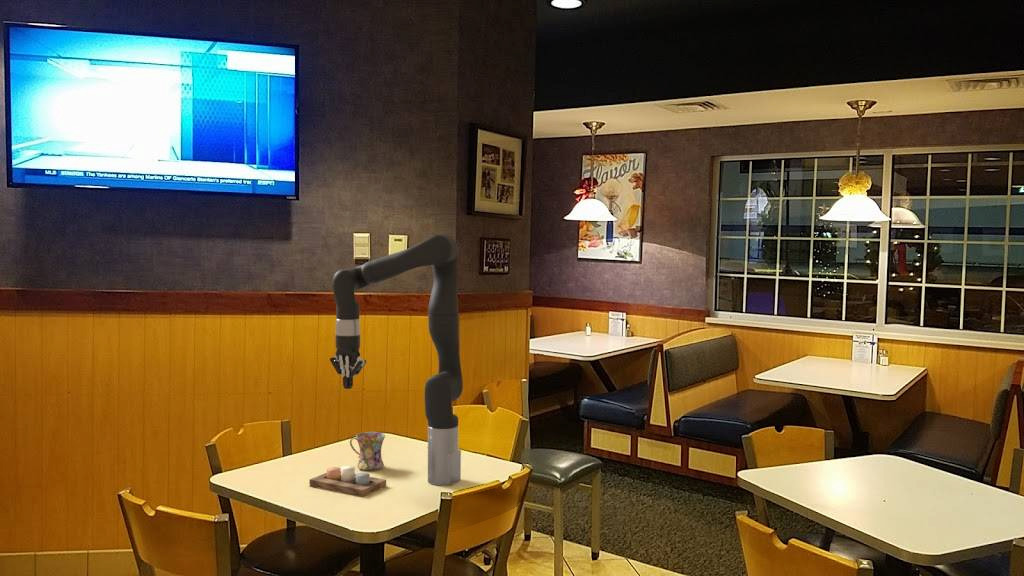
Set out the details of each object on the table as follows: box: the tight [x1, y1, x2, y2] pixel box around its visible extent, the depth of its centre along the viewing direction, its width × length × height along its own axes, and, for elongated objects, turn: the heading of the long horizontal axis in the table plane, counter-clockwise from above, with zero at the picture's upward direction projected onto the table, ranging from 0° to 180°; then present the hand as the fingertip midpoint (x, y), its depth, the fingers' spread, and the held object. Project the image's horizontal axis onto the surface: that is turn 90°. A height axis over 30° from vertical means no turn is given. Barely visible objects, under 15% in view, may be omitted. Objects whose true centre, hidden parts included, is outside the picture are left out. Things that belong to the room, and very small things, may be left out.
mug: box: [349, 431, 386, 471], centre depth 256 cm, size 12×9×11 cm
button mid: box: [340, 465, 356, 483], centre depth 237 cm, size 4×4×4 cm
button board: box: [308, 470, 387, 498], centre depth 237 cm, size 20×11×2 cm, turn 62°
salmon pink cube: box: [326, 466, 341, 480], centre depth 239 cm, size 4×4×4 cm
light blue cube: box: [355, 472, 371, 486], centre depth 234 cm, size 4×4×4 cm
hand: (347, 388), depth 248 cm, fingers closed
